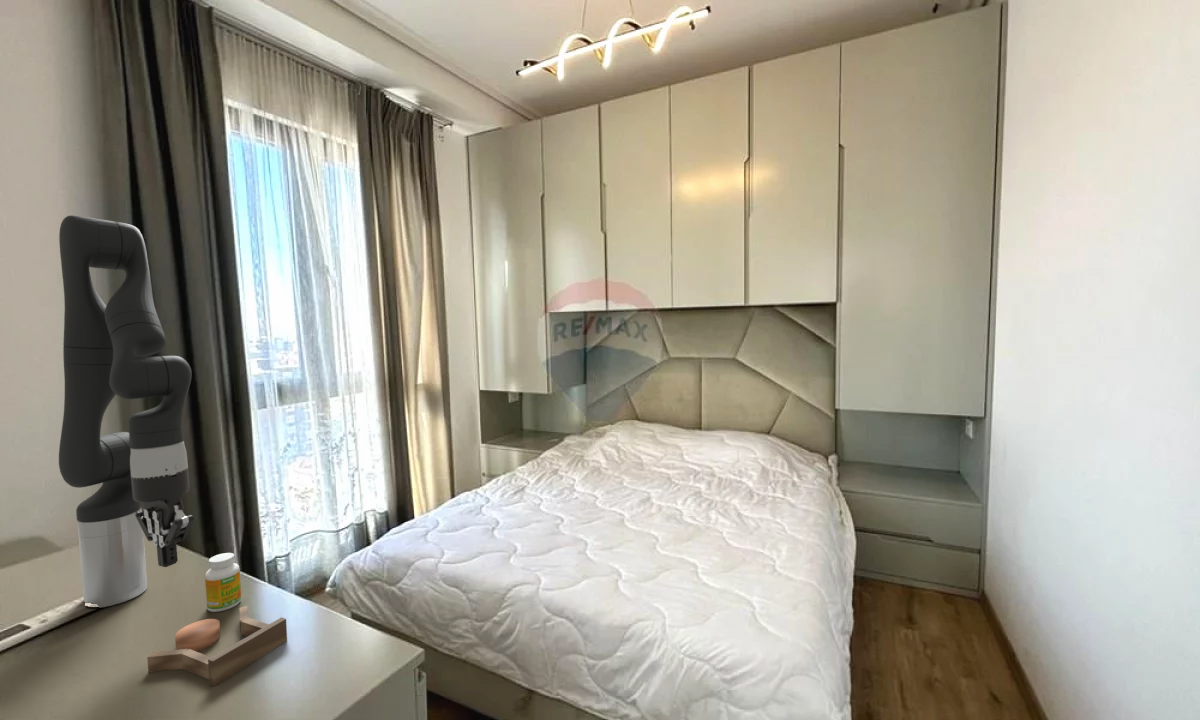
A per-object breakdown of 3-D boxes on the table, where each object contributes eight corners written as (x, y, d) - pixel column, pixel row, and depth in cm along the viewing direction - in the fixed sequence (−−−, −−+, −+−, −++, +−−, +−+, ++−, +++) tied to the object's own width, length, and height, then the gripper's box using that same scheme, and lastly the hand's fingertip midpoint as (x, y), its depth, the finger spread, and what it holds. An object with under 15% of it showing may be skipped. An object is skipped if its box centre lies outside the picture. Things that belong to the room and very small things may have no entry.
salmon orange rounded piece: (168, 649, 84) (167, 635, 84) (207, 629, 90) (206, 616, 89) (189, 657, 82) (189, 643, 82) (228, 636, 87) (227, 623, 87)
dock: (146, 671, 78) (144, 647, 78) (246, 617, 93) (244, 597, 92) (200, 694, 73) (198, 669, 73) (297, 634, 88) (296, 612, 87)
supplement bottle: (222, 614, 94) (219, 565, 93) (199, 611, 95) (196, 562, 94) (248, 598, 99) (245, 552, 98) (226, 596, 100) (223, 549, 99)
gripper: (111, 472, 86) (120, 568, 87) (157, 479, 81) (166, 581, 82) (162, 460, 93) (170, 550, 94) (207, 466, 88) (215, 560, 89)
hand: (168, 564), depth 88 cm, fingers closed
